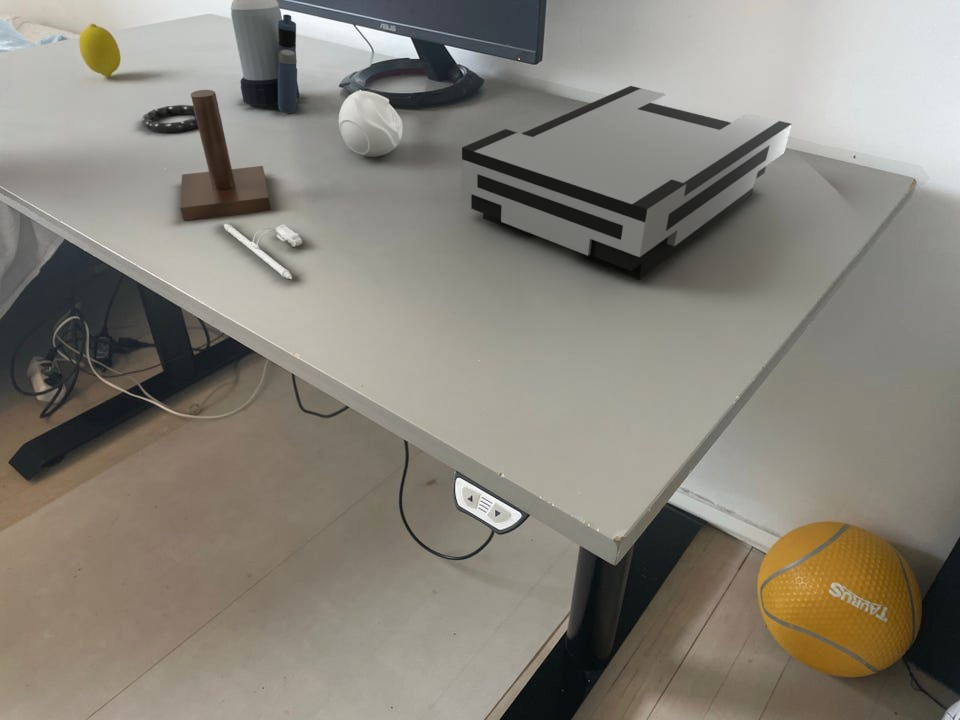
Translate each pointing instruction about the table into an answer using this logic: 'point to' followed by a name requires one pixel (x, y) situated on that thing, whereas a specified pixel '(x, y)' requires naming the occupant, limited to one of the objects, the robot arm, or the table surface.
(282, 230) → the picture light
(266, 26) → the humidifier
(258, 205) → the stand
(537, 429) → the table surface
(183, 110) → the ring
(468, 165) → the game console
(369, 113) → the white ridged ball
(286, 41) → the vaping device
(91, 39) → the lemon
